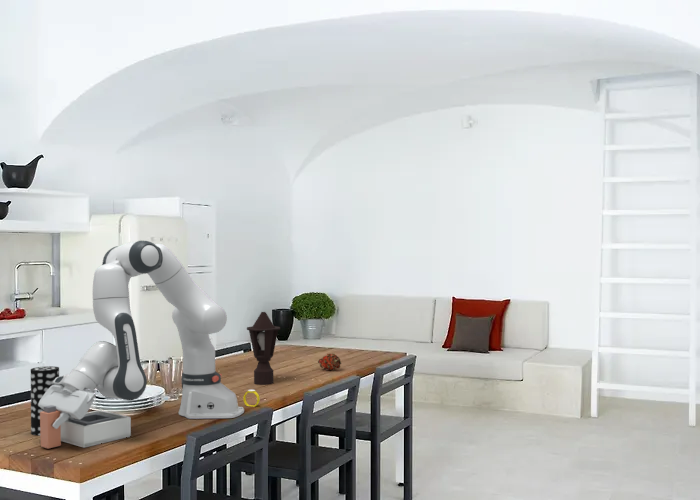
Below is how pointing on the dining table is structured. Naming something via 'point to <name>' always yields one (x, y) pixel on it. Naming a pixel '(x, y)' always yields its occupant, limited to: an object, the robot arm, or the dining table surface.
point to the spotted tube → (40, 392)
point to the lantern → (263, 348)
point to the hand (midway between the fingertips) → (48, 426)
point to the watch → (256, 396)
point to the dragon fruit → (330, 362)
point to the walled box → (95, 428)
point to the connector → (49, 427)
